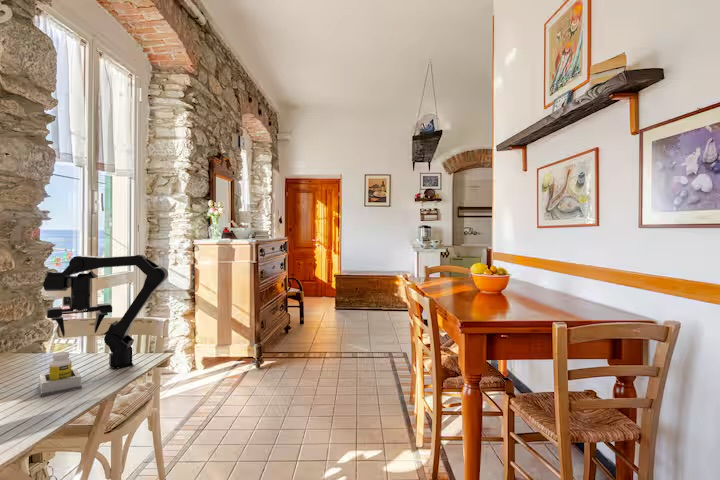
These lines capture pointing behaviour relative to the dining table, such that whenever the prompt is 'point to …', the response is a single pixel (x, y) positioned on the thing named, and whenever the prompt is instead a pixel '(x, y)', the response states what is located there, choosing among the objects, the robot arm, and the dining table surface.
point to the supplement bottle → (60, 366)
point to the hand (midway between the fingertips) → (79, 334)
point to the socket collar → (59, 384)
